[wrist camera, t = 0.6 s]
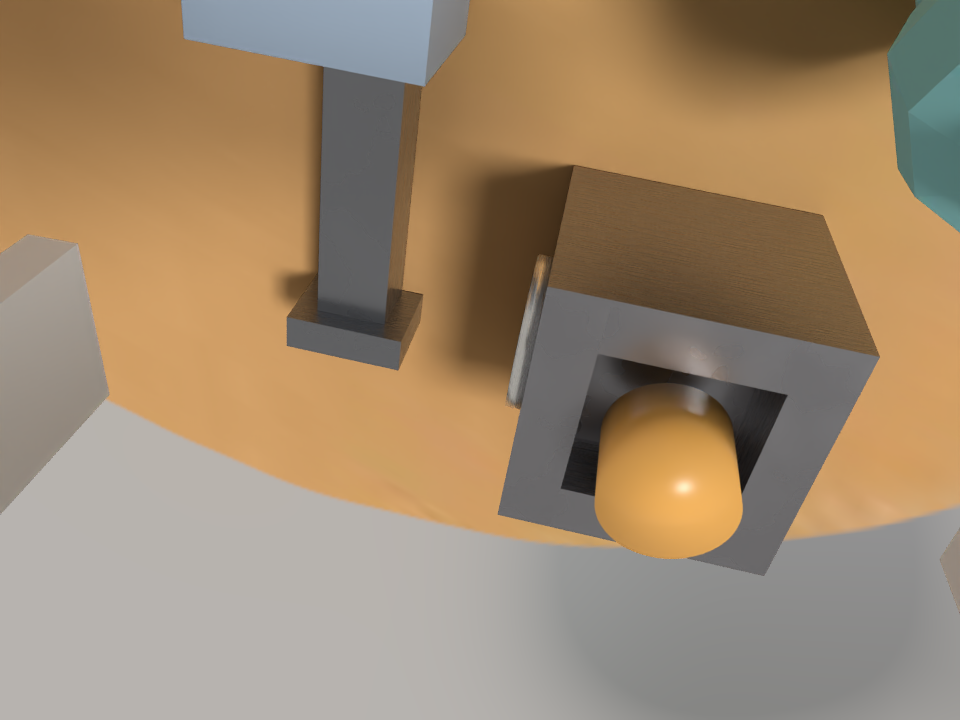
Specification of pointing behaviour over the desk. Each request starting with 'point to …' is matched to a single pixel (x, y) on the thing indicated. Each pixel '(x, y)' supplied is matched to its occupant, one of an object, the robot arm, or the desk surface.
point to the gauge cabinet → (684, 347)
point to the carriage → (336, 32)
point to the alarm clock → (929, 105)
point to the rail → (362, 224)
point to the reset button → (668, 472)
